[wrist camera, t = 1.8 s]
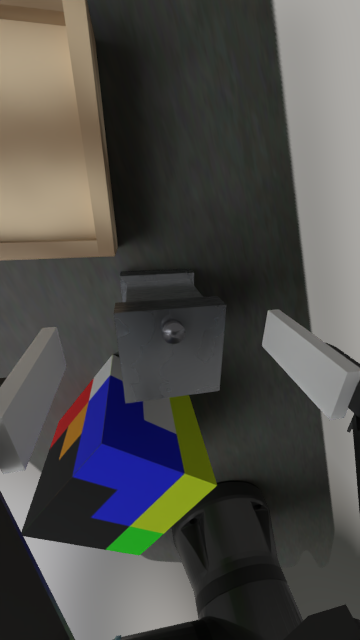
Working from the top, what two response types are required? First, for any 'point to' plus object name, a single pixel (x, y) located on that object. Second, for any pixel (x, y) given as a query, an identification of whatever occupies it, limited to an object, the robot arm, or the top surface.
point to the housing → (168, 335)
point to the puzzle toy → (119, 469)
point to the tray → (52, 135)
